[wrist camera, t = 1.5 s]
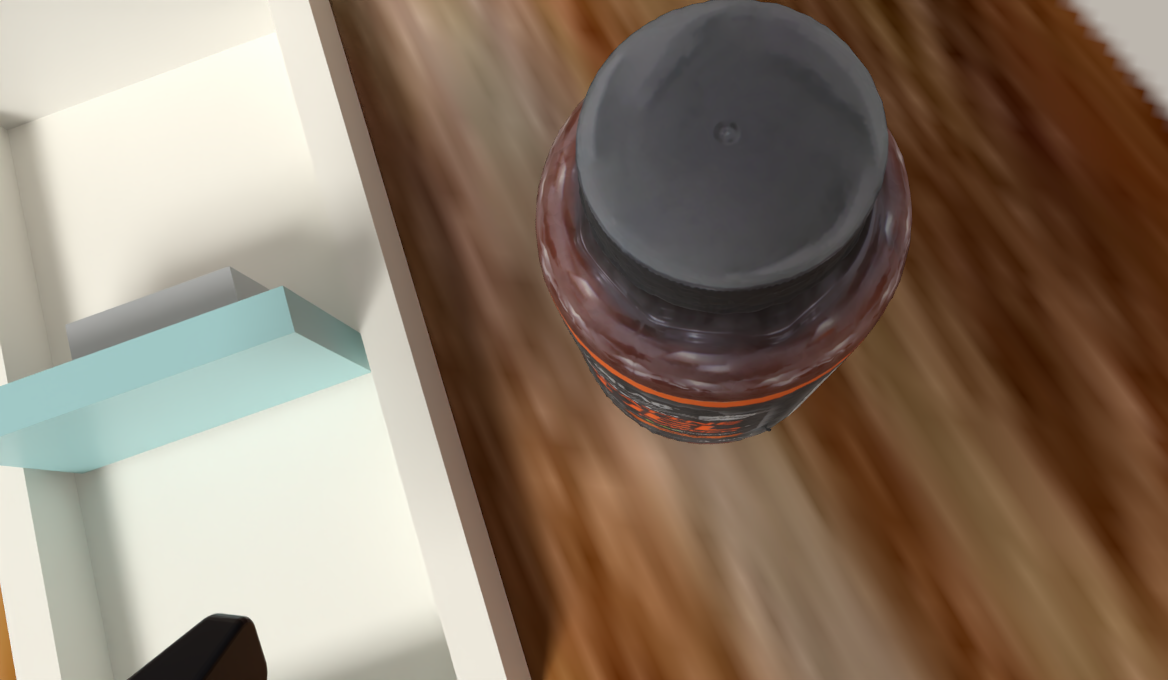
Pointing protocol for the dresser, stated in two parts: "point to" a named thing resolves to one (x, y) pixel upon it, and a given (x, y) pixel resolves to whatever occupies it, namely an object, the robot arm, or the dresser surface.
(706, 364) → the supplement bottle
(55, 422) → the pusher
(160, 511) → the lane
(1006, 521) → the dresser surface
